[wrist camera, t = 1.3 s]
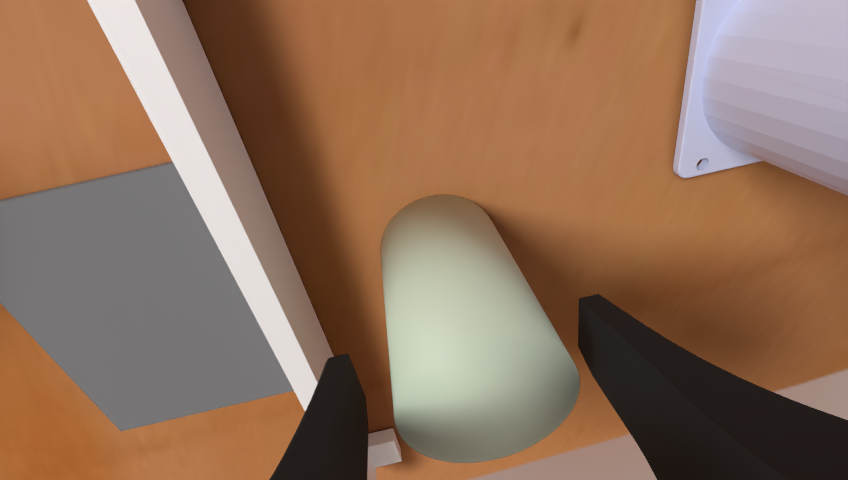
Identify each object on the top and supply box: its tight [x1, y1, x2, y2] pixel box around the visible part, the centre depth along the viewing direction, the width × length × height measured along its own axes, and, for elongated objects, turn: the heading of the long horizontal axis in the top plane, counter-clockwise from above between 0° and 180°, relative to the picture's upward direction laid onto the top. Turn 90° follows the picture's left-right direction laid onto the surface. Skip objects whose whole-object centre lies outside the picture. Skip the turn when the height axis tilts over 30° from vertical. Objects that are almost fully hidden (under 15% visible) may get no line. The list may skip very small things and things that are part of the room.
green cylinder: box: [380, 195, 580, 463], centre depth 14 cm, size 5×5×8 cm
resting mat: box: [0, 162, 294, 431], centre depth 17 cm, size 9×12×1 cm
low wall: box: [87, 0, 402, 480], centre depth 16 cm, size 4×26×3 cm, turn 11°
